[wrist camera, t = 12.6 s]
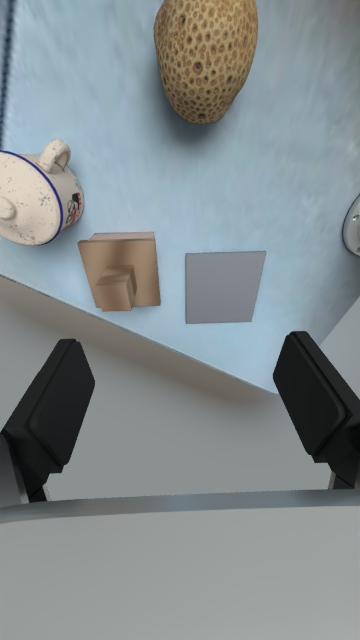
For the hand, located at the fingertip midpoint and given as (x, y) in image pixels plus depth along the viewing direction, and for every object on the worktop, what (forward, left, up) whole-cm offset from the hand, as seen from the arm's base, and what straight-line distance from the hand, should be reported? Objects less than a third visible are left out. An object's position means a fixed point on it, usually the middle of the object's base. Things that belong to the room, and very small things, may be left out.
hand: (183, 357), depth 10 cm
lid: (+8, +6, -23) cm, 25 cm away
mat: (-8, +12, -28) cm, 32 cm away
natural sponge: (-3, -15, -28) cm, 32 cm away
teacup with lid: (+16, -5, -28) cm, 33 cm away
